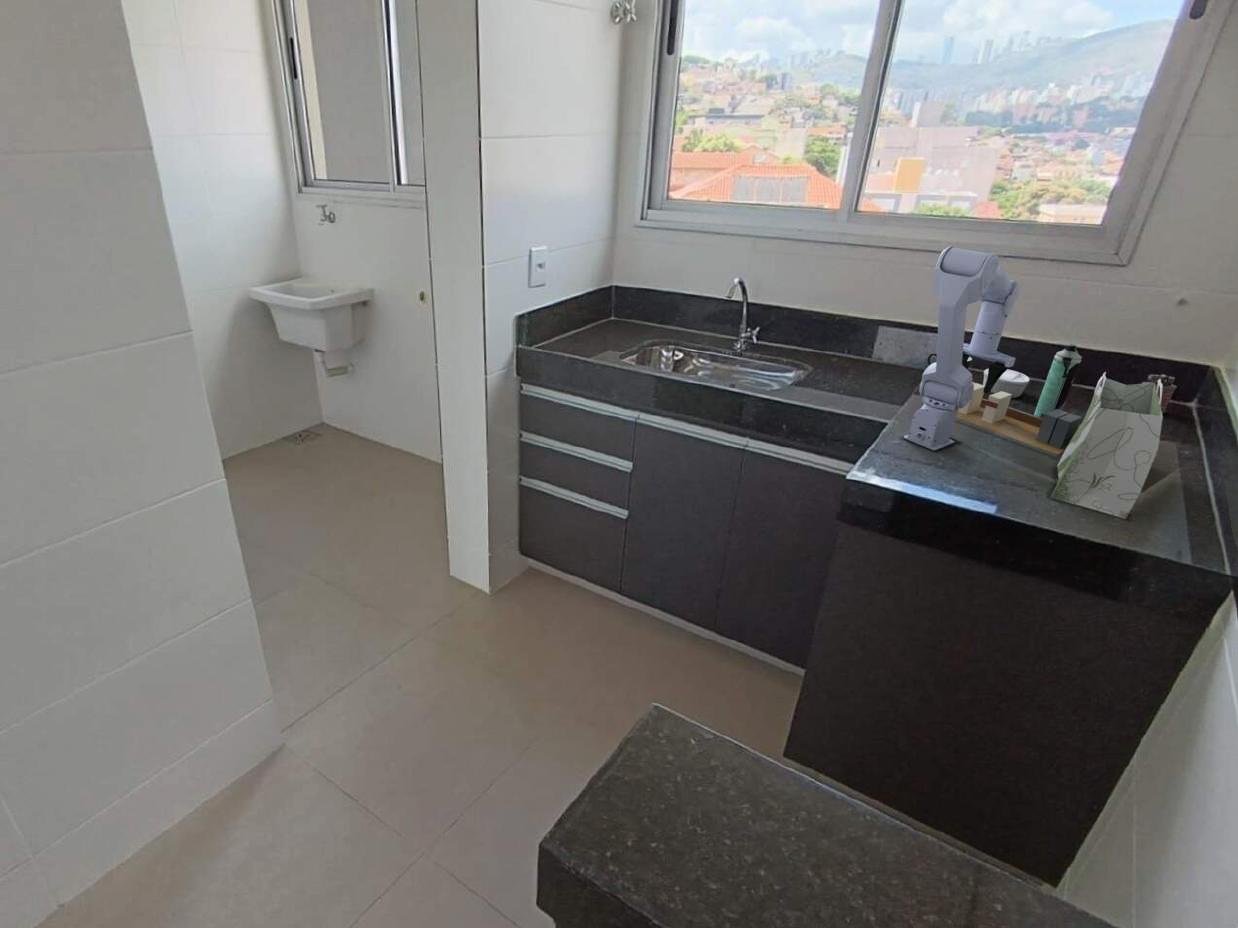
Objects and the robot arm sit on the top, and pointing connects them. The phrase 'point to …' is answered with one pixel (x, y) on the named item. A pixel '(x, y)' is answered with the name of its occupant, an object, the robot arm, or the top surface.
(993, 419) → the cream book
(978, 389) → the cream rectangular block
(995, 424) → the shelf board
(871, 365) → the top surface
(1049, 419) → the grey book
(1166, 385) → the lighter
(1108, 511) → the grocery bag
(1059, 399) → the spray can
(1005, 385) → the ramekin
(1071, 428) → the grey book
